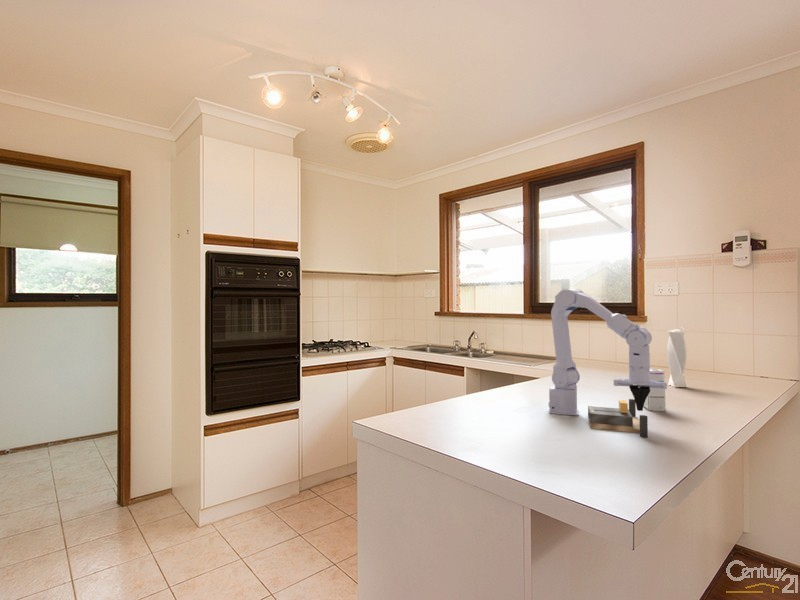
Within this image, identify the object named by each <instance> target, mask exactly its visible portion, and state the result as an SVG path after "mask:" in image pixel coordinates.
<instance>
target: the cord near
mask: <svg viewBox="0 0 800 600" xmlns="http://www.w3.org/2000/svg"><path fill="white" fill-rule="evenodd" d="M648 418H649V417H648V415H643V414H641V415H639V421H640V433H639V437H640V438H643V439H646V438H648V437H649V436H648V435H649V433H648V431H649V430H648V424H649V423H648V421H649V420H648Z"/></svg>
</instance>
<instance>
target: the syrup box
mask: <svg viewBox="0 0 800 600" xmlns="http://www.w3.org/2000/svg"><path fill="white" fill-rule="evenodd" d="M665 377H666V376H665V371H664V370H662V369H659V368H650V380H651V381H660V382H666V378H665ZM646 386H647V385H646ZM643 408H645V410H648V411H650V410H653V412H666V409H667V408H666V389H662V388H650V393H649V394H648V396H647V398H646V400H645V403H644V406H643Z"/></svg>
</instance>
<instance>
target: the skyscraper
mask: <svg viewBox="0 0 800 600" xmlns="http://www.w3.org/2000/svg"><path fill="white" fill-rule="evenodd" d="M667 333H668V335H669V337H668V341H667V348H666V355H667V356H666V358H667V364H668V369H669V373H670V375H669V379H668V383H667V386H668V385H671V386H674V387H673V388H675V387H687V384H686V381H685V376H684V372H685V367H686V363H687V346H686V340H685V337H684V335H685V333H686V331H685V327H684V326H681V327H680V329H668V330H667ZM671 386H670V387H671Z"/></svg>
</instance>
